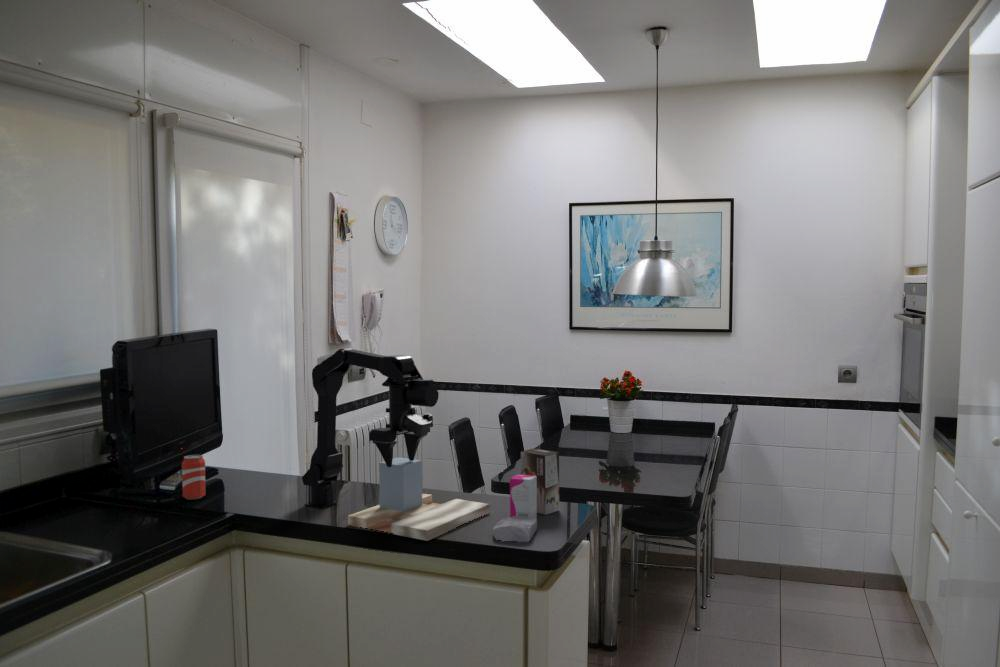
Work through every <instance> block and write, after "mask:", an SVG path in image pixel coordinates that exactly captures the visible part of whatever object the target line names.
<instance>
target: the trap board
mask: <svg viewBox="0 0 1000 667" xmlns="http://www.w3.org/2000/svg"><path fill="white" fill-rule="evenodd" d="M490 505H491V504H490V503H485V502H479V501H472V500H466V499H461V498H454V499H452V500H449V501H446V502H443V503H437V502H433V494H430V493H423V492H422V505H421V506H418V507H415V508H413V509H410V510H407V511H405V512H401V511H396V510H390V509H384V508H380V504H377V505H374V506H372V507H371V506H370V507H369V508H366V509H363V510H361V511H357V512H354V513H351V514H349V515H347V520H348V521H347V523H348V524H347V525H348V526H350V525H351V526H350V527H356V528H360V527H362V528H361V529H365V528H368V529H367V530H370V529H374V530H373V531H375V530H380V531H384V532H383V533H385V532H388V533H387V534H390V533H393V534H392V535H396V536H401V537H406V538H411V539H416V540H421V541H425V542H426V541H427V542H428V541H431V540H433V539H435V538H437V537H439V536H442V535H444V534H446V533H448V531H449V532H450V530H451V531H453V530H455V529H457V528H456V527H458V526H460V525H462V524H464V523H467V522H469V521H471V522H473V521H475V520H474V519H476V518H478V519H479V517H480V518H482V517H484V515H485V516H486V514H487V515H489V514H490V513H491V512H490V511H491V510H490V508H491V507H490ZM481 516H482V517H481ZM387 519H392V520H393V521H394V522H393V521H391V523H388V522H390V521H388V522H387V521H386V520H387ZM395 520H398V521H397V522H396V521H395ZM472 520H473V521H472ZM476 520H477V519H476ZM382 521H383V522H382ZM384 521H385V522H384ZM469 523H470V522H469ZM467 524H468V523H467ZM464 525H465V524H464ZM462 526H463V525H462ZM460 527H461V526H460ZM454 528H455V529H454ZM458 528H459V527H458ZM452 529H453V530H452ZM380 531H379V532H380Z"/></svg>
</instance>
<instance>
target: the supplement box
mask: <svg viewBox="0 0 1000 667" xmlns="http://www.w3.org/2000/svg"><path fill="white" fill-rule="evenodd" d="M537 515H538V513H537V476H533V475H521V474H515V475H514V476H512V477H511V478H509V517H513V516H524V517H529V518H537V519H538V516H537Z"/></svg>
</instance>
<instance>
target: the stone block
mask: <svg viewBox="0 0 1000 667" xmlns="http://www.w3.org/2000/svg"><path fill="white" fill-rule="evenodd" d="M537 528H538V517H537V518H529V517H524V516H513V517H510V516H509V517H508V516H507V517H503V518H501V519H500V520H499V521H497V523H496V524H495V525H494V527H493V528H492V535H493V537H494V538H493V539H494V540H495V539H496V540H495V541H497V540H501V541H500V542H504V541H517V542H516V543H526V542H527V543H529V541H530V542H531V540H532V538H533V536H534V535H535V533H536V532H537V530H538V529H537Z"/></svg>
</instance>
